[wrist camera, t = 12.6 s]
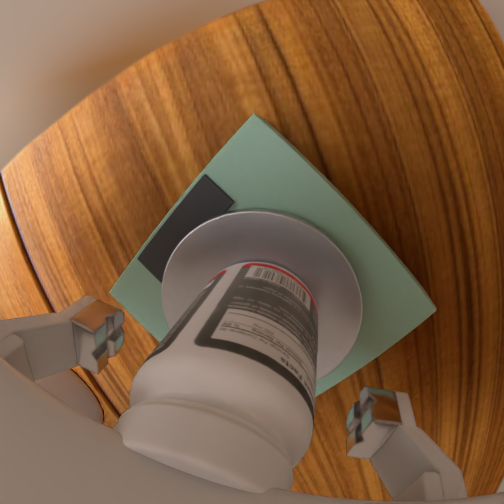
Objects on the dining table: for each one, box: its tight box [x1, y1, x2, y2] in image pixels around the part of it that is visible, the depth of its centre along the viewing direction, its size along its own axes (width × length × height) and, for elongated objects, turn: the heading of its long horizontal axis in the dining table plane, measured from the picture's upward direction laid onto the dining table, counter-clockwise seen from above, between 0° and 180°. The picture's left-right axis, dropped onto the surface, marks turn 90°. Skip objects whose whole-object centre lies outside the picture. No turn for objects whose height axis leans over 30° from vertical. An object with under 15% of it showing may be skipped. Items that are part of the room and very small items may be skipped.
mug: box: [35, 369, 103, 424], centre depth 18 cm, size 12×8×11 cm
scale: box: [110, 114, 437, 397], centre depth 14 cm, size 11×11×3 cm
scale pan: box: [161, 208, 363, 381], centre depth 13 cm, size 8×8×1 cm
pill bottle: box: [113, 262, 318, 493], centre depth 9 cm, size 5×5×8 cm
